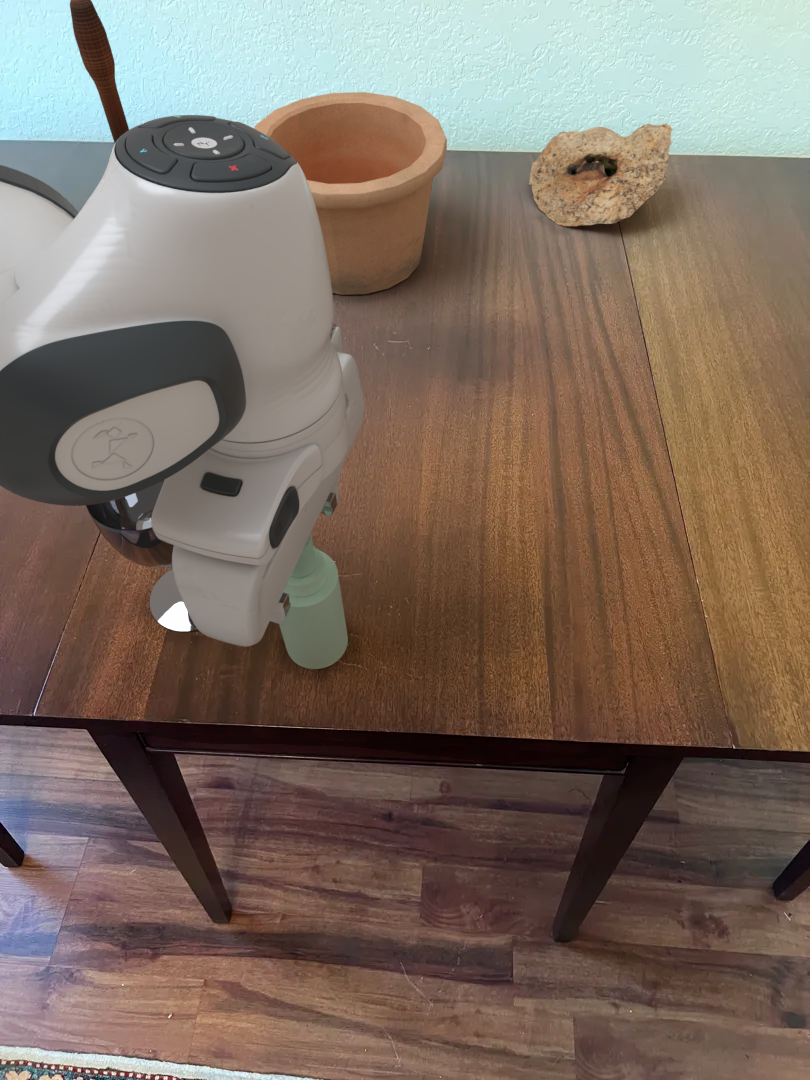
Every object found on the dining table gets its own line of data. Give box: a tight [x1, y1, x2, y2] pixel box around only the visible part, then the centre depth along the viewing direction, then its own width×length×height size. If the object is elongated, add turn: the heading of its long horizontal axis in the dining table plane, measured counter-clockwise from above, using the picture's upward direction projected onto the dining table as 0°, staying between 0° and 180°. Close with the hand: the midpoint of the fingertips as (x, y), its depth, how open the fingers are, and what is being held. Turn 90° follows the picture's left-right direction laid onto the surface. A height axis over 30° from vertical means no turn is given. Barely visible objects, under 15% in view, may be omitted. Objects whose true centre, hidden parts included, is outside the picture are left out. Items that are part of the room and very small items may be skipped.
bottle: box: [278, 533, 349, 670], centre depth 59 cm, size 5×5×15 cm
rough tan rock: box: [528, 123, 673, 227], centre depth 101 cm, size 18×14×8 cm
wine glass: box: [85, 480, 199, 633], centre depth 62 cm, size 8×8×15 cm
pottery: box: [253, 91, 448, 296], centre depth 91 cm, size 22×22×14 cm
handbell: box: [69, 0, 130, 144], centre depth 92 cm, size 12×12×25 cm
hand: (301, 557), depth 55 cm, fingers open, 8 cm apart
